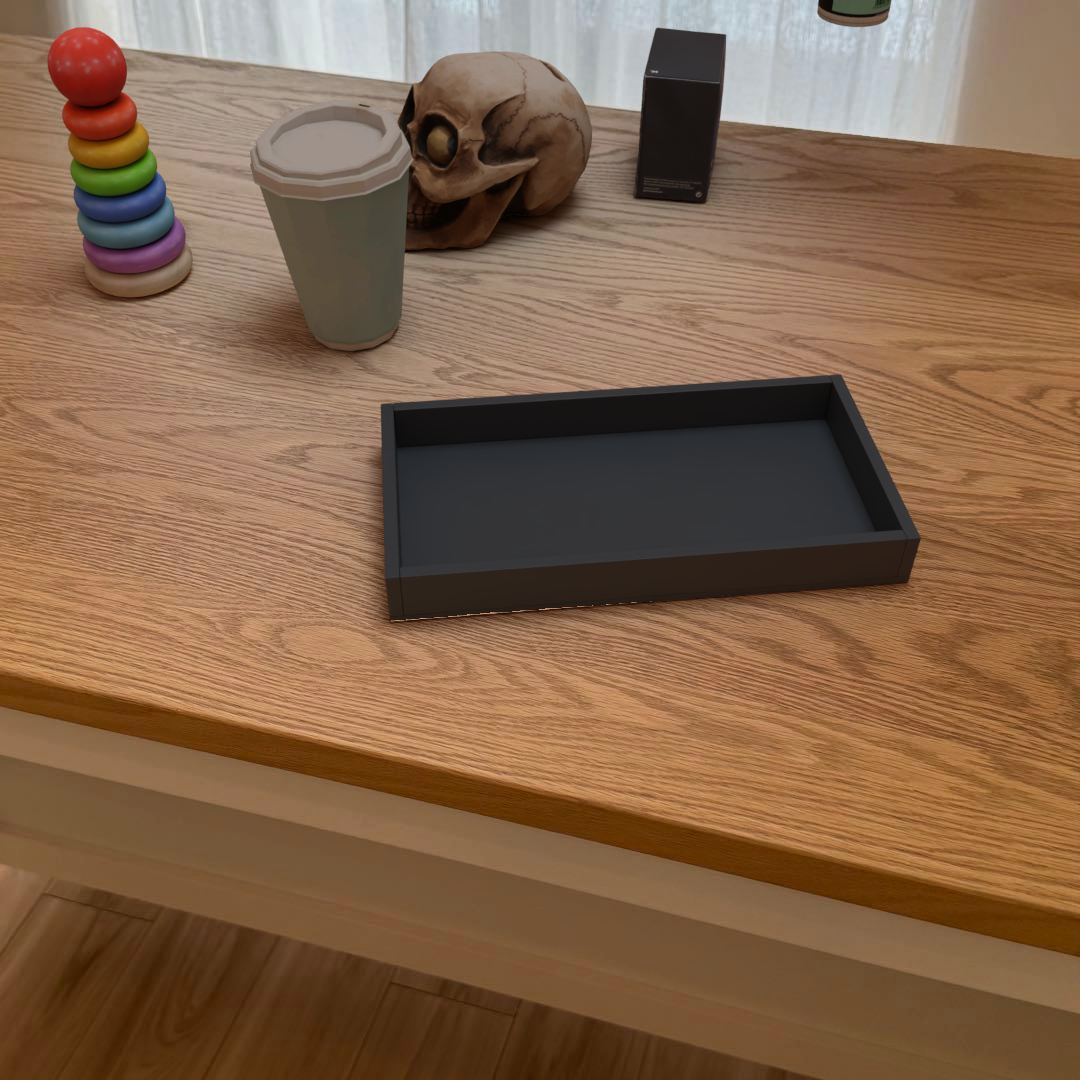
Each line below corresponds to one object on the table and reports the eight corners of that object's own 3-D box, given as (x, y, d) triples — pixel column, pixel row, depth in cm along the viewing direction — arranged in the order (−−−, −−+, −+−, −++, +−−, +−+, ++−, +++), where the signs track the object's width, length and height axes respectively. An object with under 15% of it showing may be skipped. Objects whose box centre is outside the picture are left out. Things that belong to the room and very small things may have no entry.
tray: (832, 417, 82) (841, 373, 80) (908, 582, 71) (921, 538, 69) (385, 447, 80) (380, 403, 78) (390, 623, 69) (384, 578, 66)
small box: (710, 205, 103) (723, 81, 96) (632, 199, 104) (639, 76, 97) (717, 148, 111) (730, 30, 104) (644, 143, 112) (652, 25, 105)
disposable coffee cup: (370, 385, 85) (347, 182, 75) (246, 342, 89) (207, 143, 78) (452, 311, 92) (442, 115, 81) (334, 274, 95) (309, 82, 85)
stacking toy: (77, 262, 97) (7, 18, 84) (178, 238, 99) (125, -3, 86) (102, 312, 92) (31, 59, 79) (207, 285, 94) (156, 37, 81)
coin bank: (338, 235, 99) (335, 65, 91) (446, 167, 112) (452, 13, 103) (511, 289, 95) (525, 115, 86) (604, 212, 107) (623, 54, 99)
